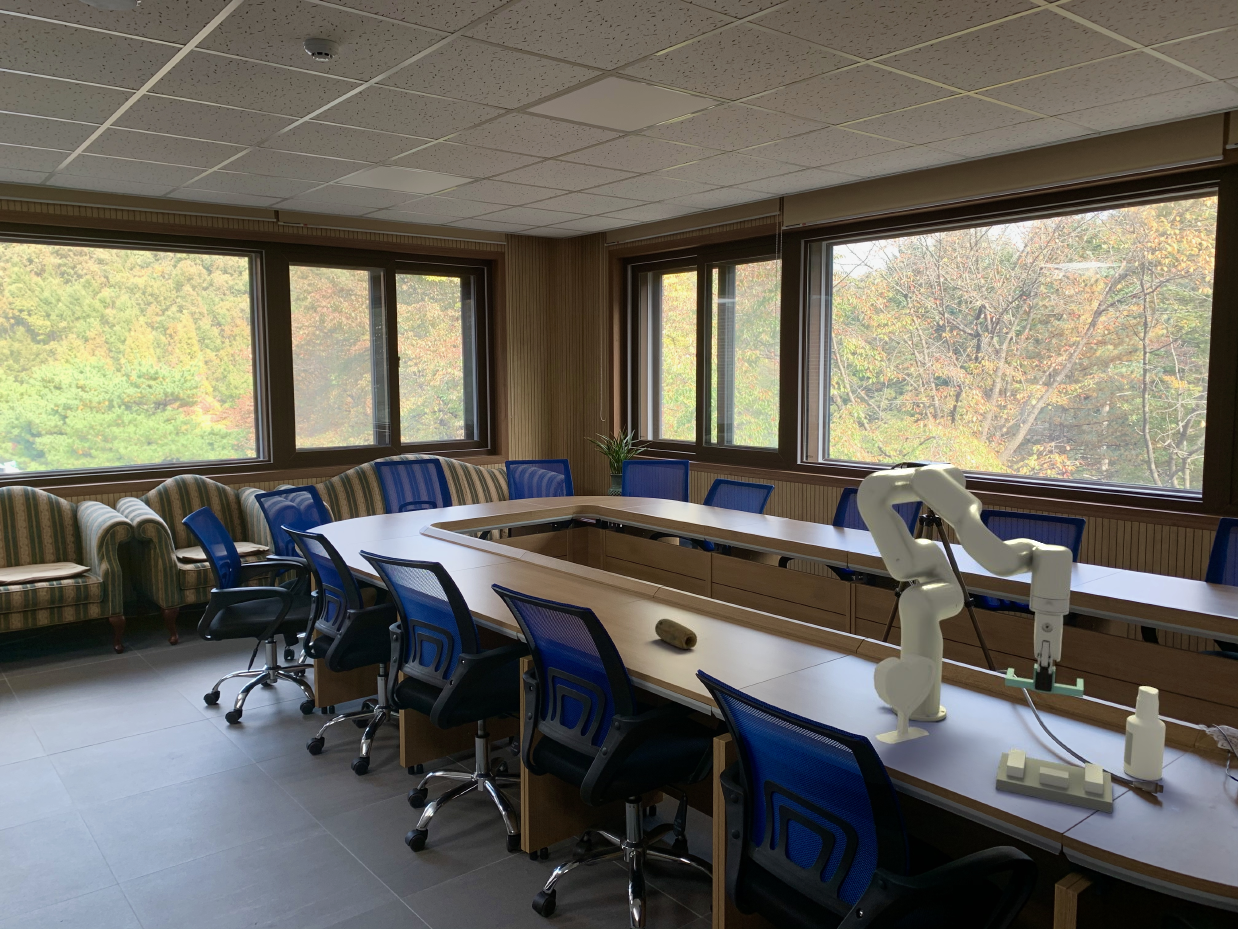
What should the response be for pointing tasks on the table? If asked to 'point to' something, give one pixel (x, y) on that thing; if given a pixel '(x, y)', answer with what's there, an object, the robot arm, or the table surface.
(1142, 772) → the white bottle
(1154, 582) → the table surface
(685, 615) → the table surface
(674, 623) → the stone weight
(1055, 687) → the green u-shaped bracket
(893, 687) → the heart sculpture
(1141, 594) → the table surface
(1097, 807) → the stand
